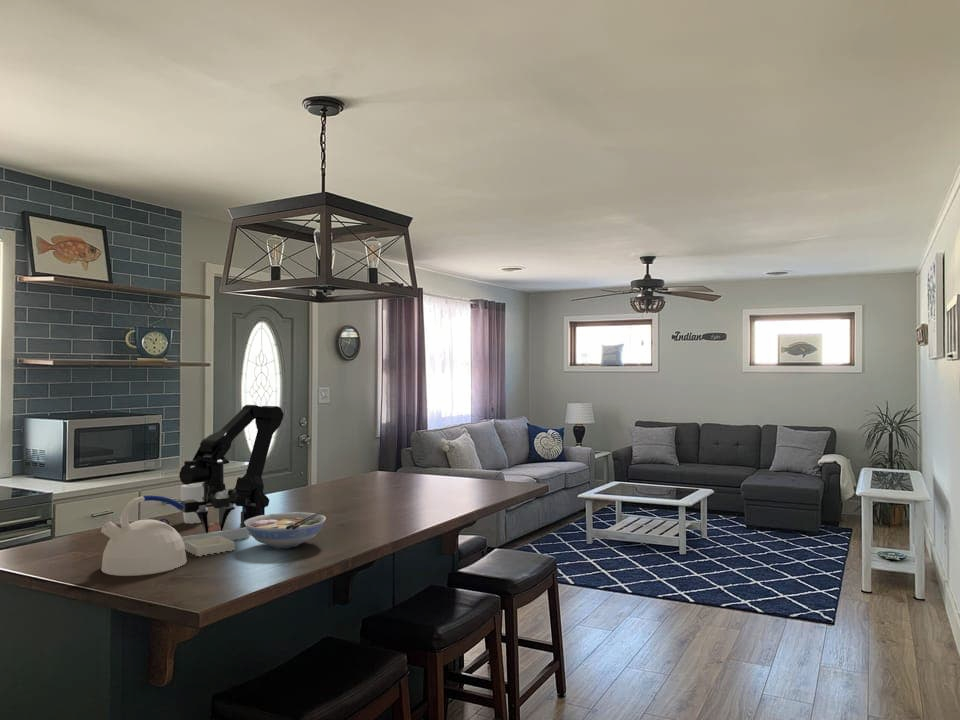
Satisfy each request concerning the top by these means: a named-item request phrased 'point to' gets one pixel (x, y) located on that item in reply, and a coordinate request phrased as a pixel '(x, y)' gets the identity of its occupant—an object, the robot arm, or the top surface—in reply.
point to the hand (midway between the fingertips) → (213, 531)
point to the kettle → (142, 544)
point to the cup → (192, 493)
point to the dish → (209, 545)
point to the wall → (221, 534)
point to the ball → (214, 527)
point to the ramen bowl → (285, 528)
